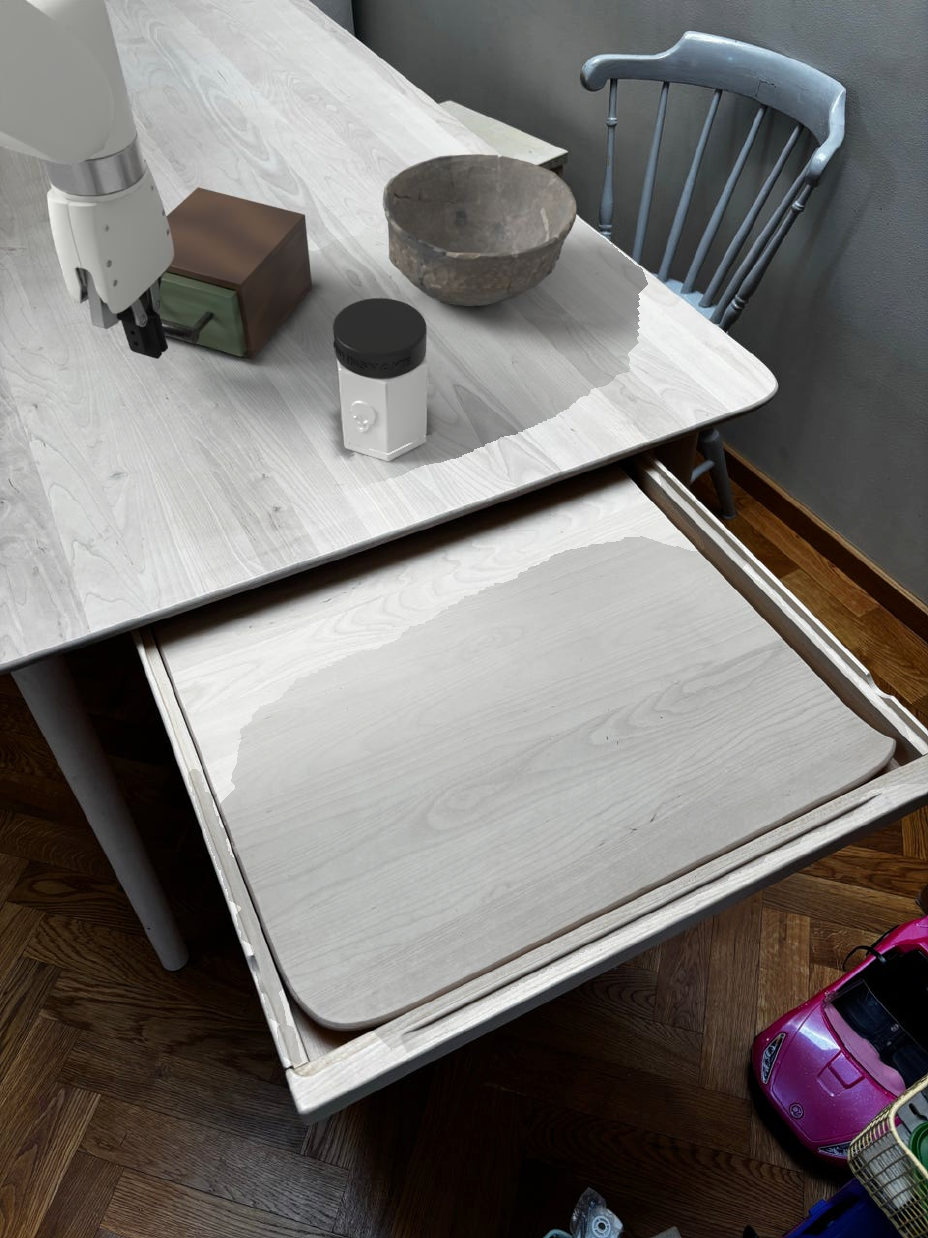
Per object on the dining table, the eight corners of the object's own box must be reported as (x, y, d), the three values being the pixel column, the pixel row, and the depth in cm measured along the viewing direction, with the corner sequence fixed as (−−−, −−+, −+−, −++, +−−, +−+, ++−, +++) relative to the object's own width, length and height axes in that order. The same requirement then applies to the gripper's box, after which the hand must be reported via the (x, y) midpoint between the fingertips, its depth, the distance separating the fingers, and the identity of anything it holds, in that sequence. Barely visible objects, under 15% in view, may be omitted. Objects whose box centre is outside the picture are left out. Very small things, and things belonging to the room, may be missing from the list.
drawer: (220, 382, 90) (207, 323, 84) (119, 352, 92) (101, 293, 86) (297, 290, 99) (290, 232, 94) (205, 265, 101) (193, 206, 96)
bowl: (523, 221, 111) (532, 138, 103) (595, 320, 100) (611, 236, 92) (360, 248, 106) (356, 163, 98) (416, 355, 95) (416, 269, 87)
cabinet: (253, 358, 94) (240, 284, 87) (146, 327, 96) (125, 252, 89) (312, 287, 101) (305, 214, 94) (212, 260, 104) (197, 186, 97)
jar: (322, 444, 87) (311, 338, 77) (358, 392, 91) (352, 286, 82) (409, 471, 85) (408, 366, 75) (441, 417, 90) (445, 312, 80)
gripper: (107, 108, 77) (157, 297, 92) (-7, 195, 68) (69, 387, 83) (185, 127, 76) (223, 315, 90) (79, 218, 67) (141, 409, 82)
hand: (149, 349), depth 87 cm, fingers closed
